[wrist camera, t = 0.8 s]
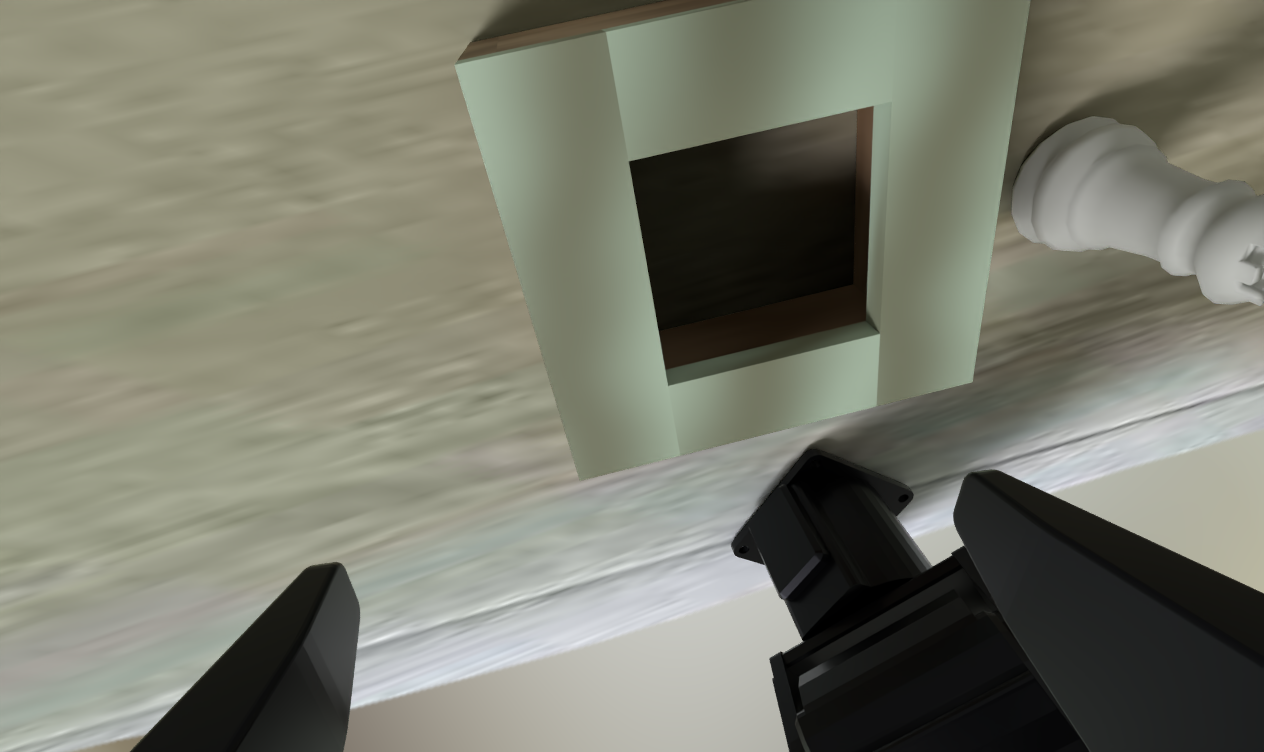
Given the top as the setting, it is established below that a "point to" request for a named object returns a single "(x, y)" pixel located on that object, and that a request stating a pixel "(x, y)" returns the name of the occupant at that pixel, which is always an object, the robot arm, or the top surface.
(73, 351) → the top surface
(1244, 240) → the rook chess piece
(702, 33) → the box
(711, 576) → the top surface
